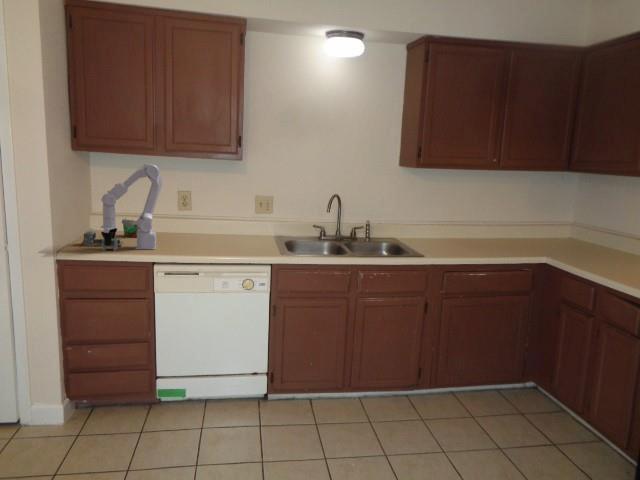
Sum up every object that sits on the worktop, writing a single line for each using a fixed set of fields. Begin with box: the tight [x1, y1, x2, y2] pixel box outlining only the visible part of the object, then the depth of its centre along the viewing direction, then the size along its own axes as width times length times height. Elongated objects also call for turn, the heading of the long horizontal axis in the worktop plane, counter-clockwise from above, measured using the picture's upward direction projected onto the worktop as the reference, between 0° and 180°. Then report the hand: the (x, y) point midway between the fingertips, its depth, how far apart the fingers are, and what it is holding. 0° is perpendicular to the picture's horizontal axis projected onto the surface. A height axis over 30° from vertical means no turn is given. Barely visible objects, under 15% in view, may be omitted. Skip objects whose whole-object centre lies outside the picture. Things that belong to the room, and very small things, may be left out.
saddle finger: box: [101, 238, 119, 252], centre depth 248 cm, size 4×6×6 cm
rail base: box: [79, 230, 125, 248], centre depth 258 cm, size 20×8×6 cm, turn 102°
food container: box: [121, 217, 138, 239], centre depth 280 cm, size 12×6×10 cm, turn 62°
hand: (109, 244), depth 248 cm, fingers open, 7 cm apart
